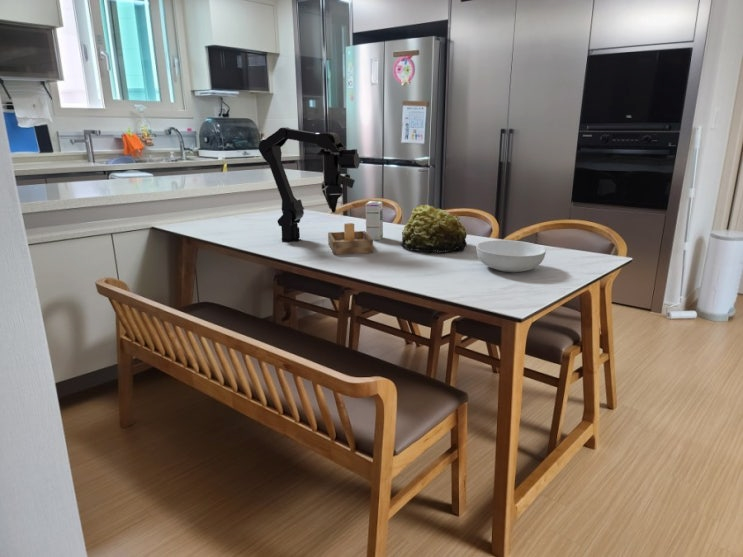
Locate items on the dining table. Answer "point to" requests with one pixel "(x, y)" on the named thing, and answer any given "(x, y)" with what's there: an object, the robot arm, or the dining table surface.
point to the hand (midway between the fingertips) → (332, 210)
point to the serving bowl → (510, 255)
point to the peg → (349, 232)
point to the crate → (350, 243)
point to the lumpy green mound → (433, 231)
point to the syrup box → (374, 220)
